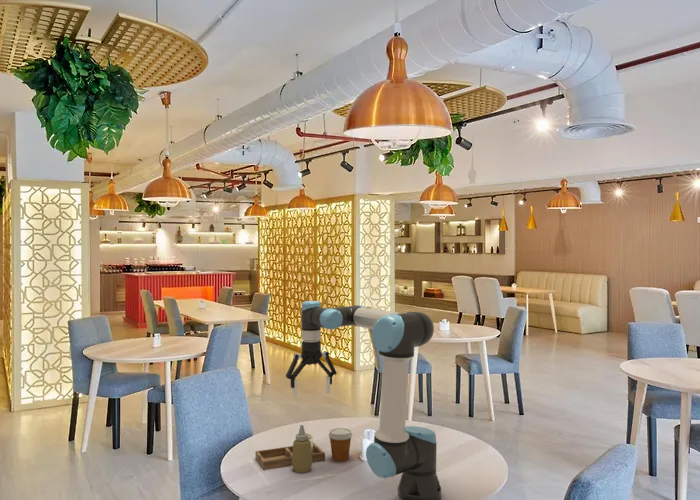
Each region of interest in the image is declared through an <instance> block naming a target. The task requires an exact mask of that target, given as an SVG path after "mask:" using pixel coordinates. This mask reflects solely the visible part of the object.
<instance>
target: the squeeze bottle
mask: <svg viewBox="0 0 700 500" xmlns="http://www.w3.org/2000/svg"><path fill="white" fill-rule="evenodd" d="M306 433H307V432H305V427H304V424H300V425H299V431H298V433H296V435H295V440H294V441H293V443H292V446H293V452H292V462H291V463H292V466H291V467H292V468H293V472H295V473H298V474H305V473H308V472H310V471H311V468H312V466H313V463H314V462H312V453H311V443H310V440H308V434H309V433H307V434H306Z"/></svg>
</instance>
